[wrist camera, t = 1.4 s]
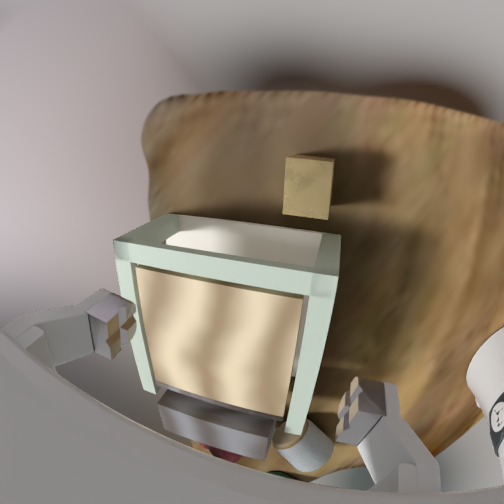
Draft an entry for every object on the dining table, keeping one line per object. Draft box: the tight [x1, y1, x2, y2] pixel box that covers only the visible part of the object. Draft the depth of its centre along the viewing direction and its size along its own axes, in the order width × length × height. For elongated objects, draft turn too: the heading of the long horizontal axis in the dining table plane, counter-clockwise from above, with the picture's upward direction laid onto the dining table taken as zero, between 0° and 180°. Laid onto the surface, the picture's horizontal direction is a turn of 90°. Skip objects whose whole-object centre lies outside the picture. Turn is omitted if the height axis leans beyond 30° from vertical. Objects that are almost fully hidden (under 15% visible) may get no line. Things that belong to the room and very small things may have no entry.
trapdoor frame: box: [113, 213, 341, 435], centre depth 33 cm, size 21×21×10 cm
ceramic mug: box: [272, 418, 333, 472], centre depth 41 cm, size 11×8×8 cm
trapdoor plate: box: [135, 264, 304, 461], centre depth 31 cm, size 16×24×5 cm
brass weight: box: [283, 154, 335, 220], centre depth 28 cm, size 4×5×6 cm
